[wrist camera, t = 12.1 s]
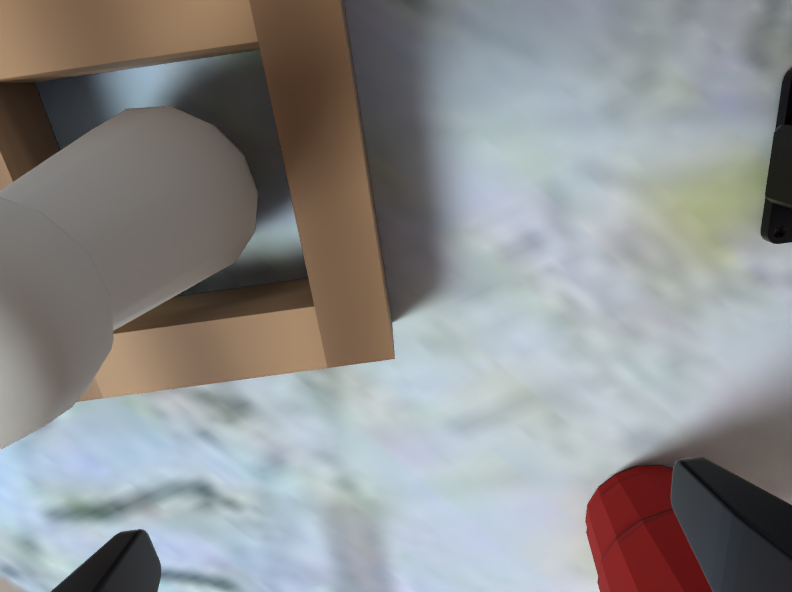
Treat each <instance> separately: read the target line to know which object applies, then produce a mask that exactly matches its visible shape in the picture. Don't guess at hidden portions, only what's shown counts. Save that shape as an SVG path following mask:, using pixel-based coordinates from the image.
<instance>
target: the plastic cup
mask: <svg viewBox="0 0 792 592" xmlns="http://www.w3.org/2000/svg"><path fill="white" fill-rule="evenodd" d="M672 475H673V469H672V468H669V467H665V466H661V465H651V466H637V467H634V468H632V469H629V470H626V471H624V472H621V473H618V474H616V475H614V476H613V477H612V478H610V479H609V480H608V481H607V482H605V483H604V484H603V485H601V486H600V487H599V488H598V489H597V490H596V492H595V494H594V495H593V497H592V498H591V500H590V501H589V503H588V505H587V513H586V525H587V532H586V533H587V536H588V540H589V544H590V547H591V551H592V555H593V559H594V562H595V566H596V570H597V573H598V585H599V589H600V592H713V591H712V589H711V587H710V585H709V583H708V581H707V579H706V577H705V575H704V572H703V570H702V568H701V566H700V564H699V562H698V560H697V558H696V556H695V554H694V552H693V550H692V548H691V546H690V544H689V542H688V539H687V537H686V535H685V533H684V531H683V529H682V527H681V525H680V523H679V521H678V519H677V517H676V515H675V513H674V510H673V507H672V504H671V485H672Z"/></svg>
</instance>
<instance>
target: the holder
mask: <svg viewBox="0 0 792 592" xmlns="http://www.w3.org/2000/svg"><path fill="white" fill-rule="evenodd" d="M254 50H260V53H261V58H262V63H263V68H264V72H265V77H266V82H267V86H268V91H269V96H270V100H271V105H272V110H273V115H274V119H275V124H276V129H277V133H278V138H279V143H280V147H281V152H282V157H283V161H284V166H285V171H286V176H287V180H288V185H289V190H290V194H291V199H292V204H293V208H294V213H295V218H296V223H297V227H298V232H299V237H300V241H301V246H302V251H303V255H304V260H305V265H306V269H307V274H308V278H307V279H300V280H292V281H285V282H278V283H271V284H263V285H256V286H249V287H242V288H234V289H227V290H220V291H213V292H205V293H198V294H191V295H184V296H177V297H172V298H171V299H169V300H167V301H165V302H164V303H162V304H160V305H158V306H157V307H155V308H153V309H151V310H149V311H148V312H146V313H144V314H142V315H141V316H139V317H137V318H135V319H134V320H132V321H130V322H128V323H126V324H125V325H123V326H121V327H119V328H118V329H116V330H114V331H113V338H114V340H113V344H112V348H111V351H110V353H109V354H108V356H107V357H106V359H105V361H104V362H103V364H102V366H101V367H100V369H99V370H98V372H97V374H96V375H95V377H94V379H93V380H92V382H91V384H90V385H89V387H88V388H87V389H86V390H85V392H84V393H83V394H82V395H81V396H80V398H79V399H78V400H77V401H76V402H79V401H86V400H94V399H101V398H109V397H116V396H123V395H131V394H138V393H146V392H153V391H160V390H168V389H175V388H183V387H190V386H197V385H205V384H212V383H220V382H227V381H234V380H242V379H249V378H257V377H264V376H271V375H279V374H286V373H293V372H301V371H308V370H316V369H323V368H330V367H338V366H345V365H353V364H360V363H367V362H375V361H382V360H390V359H395V355H394V341H393V327H392V318H391V312H390V305H389V299H388V292H387V285H386V279H385V272H384V265H383V259H382V252H381V246H380V239H379V232H378V226H377V219H376V212H375V206H374V199H373V193H372V186H371V179H370V173H369V166H368V159H367V153H366V146H365V140H364V133H363V126H362V120H361V113H360V106H359V100H358V93H357V86H356V80H355V73H354V67H353V60H352V53H351V47H350V40H349V33H348V27H347V20H346V14H345V7H344V0H0V190H2V189H3V188H5V187H6V186H8V185H9V184H11V183H12V182H14V181H15V180H17V179H18V178H20V177H21V176H23V175H24V174H26V173H27V172H29V171H30V170H32V169H33V168H35V167H36V166H38V165H39V164H41V163H42V162H44V161H45V160H47V159H48V158H50V157H51V156H53V155H54V154H56V153H57V152H59V151H60V149H59V147H58V144H57V141H56V139H55V136H54V133H53V131H52V128H51V125H50V123H49V120H48V117H47V115H46V112H45V109H44V107H43V104H42V101H41V99H40V96H39V93H38V91H37V88H36V85H35V82H42V81H49V80H56V79H62V78H69V77H76V76H83V75H90V74H97V73H104V72H110V71H117V70H124V69H131V68H138V67H145V66H152V65H158V64H165V63H172V62H179V61H186V60H193V59H200V58H206V57H213V56H220V55H227V54H234V53H241V52H248V51H254Z"/></svg>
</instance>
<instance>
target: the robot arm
mask: <svg viewBox="0 0 792 592" xmlns="http://www.w3.org/2000/svg"><path fill="white" fill-rule="evenodd" d="M765 196H766V197H765V204H764V211H763V218H762V225H761V236H762V238H763V239H765V240H766V241H769V242H771V243H774V244H781V243H788V242H792V68H791V69H790V70H789V71H788V72H787V73H786V75H785V76H784V79H783V82H782V88H781V95H780V102H779V108H778V115H777V122H776V129H775V132H774V137H773V144H772V151H771V158H770V165H769V172H768V178H767V185H766V192H765ZM778 226H780V229H779V231H778V232H777V233H776V234H774V231H775V229H776V228H777V227H778ZM671 504H672V507H673V510H674V513H675V515H676V517H677V519H678V521H679V523H680V525H681V527H682V529H683V531H684V533H685V535H686V537H687V539H688V542H689V544H690V546H691V548H692V550H693V552H694V554H695V556H696V558H697V560H698V562H699V564H700V566H701V568H702V570H703V572H704V575H705V577H706V579H707V581H708V583H709V585H710V587H711V589H712V591H713V592H792V505H791V504H789V503H787V502H785V501H783V500H781V499H779V498H778V497H776V496H774V495H772V494H770V493H768V492H767V491H765V490H763V489H761V488H759V487H757V486H755V485H754V484H752V483H750V482H748V481H746V480H744V479H743V478H741V477H739V476H737V475H735V474H733V473H731V472H730V471H728V470H726V469H724V468H722V467H720V466H719V465H717V464H715V463H713V462H711V461H709V460H707V459H705V458H703V457H690V458H682V459H678V460H676V461H675V463H674V466H673V475H672V485H671ZM160 578H161V564H160V561H159V558H158V556H157V554H156V551H155V549H154V547H153V544H152V542H151V540H150V537H149V535H148V533H147V532H146V531H145V530H141V529H138V530H131V531H123V532H120V533H118V534H116V535H115V536H114V537H113V538H112V539H110V540H109V541H108V542H107V543H106V544H105V545H104V546H102V547H101V548H100V549H99V550H98V551H97V552H96V553H94V554H93V555H92V556H91V557H90V558H89V559H88V560H86V561H85V562H84V563H83V564H82V565H81V566H79V567H78V568H77V569H76V570H75V571H74V572H73V573H71V574H70V575H69V576H68V577H67V578H66V579H65V580H63V581H62V582H61V583H60V584H59V585H58V586H57V587H55V588H54V589H53V590H52V591H51V592H157V591H158V587H159V583H160Z"/></svg>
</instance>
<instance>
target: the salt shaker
mask: <svg viewBox="0 0 792 592" xmlns="http://www.w3.org/2000/svg"><path fill="white" fill-rule="evenodd" d="M257 200H258V191H257V188H256V186H255V183H254V180H253V177H252V175H251V172H250V169H249V167H248V164H247V161H246V158H245V156H244V154H243V153H242V152H241V151H240V150H239V149H238V148H237V147H236V146H235V145H234V144H233V143H232V142H231V141H230V140H229V139H228V138H227V137H226V136H225V135H224V134H223V133H222V132H221V131H220V130H219V129H218V128H217V127H216V126H215V125H212V124H210V123H208V122H206V121H203V120H201V119H199V118H197V117H194V116H192V115H190V114H188V113H185V112H183V111H181V110H179V109H176V108H174V107H171V106H161V107H147V108H133V109H126V110H124V111H122V112H121V113H119V114H117V115H116V116H114V117H112V118H111V119H109V120H107V121H105V122H104V123H102V124H100V125H99V126H97V127H95V128H94V129H92V130H90V131H89V132H87V133H86V134H84V135H83V136H81V137H80V138H78V139H77V140H75V141H74V142H72V143H71V144H69V145H68V146H66V147H65V148H63V149H62V150H60V151H59V152H57V153H56V154H54V155H53V156H51V157H50V158H48V159H47V160H45V161H44V162H42V163H41V164H39V165H38V166H36V167H35V168H33V169H32V170H30V171H29V172H27V173H26V174H24V175H23V176H21V177H20V178H18V179H17V180H15V181H14V182H12V183H11V184H9V185H8V186H6V187H5V188H3V189H2V190H0V449H3V448H5V447H7V446H9V445H11V444H12V443H14V442H16V441H18V440H20V439H22V438H23V437H25V436H27V435H29V434H31V433H33V432H34V431H36V430H38V429H40V428H42V427H44V426H45V425H47V424H48V423H50V422H51V421H53V420H54V419H55V418H57V417H58V416H60V415H61V414H63V413H64V412H65V411H67V410H68V409H70V408H71V407H72V406H73V405H74V404H75V403H76V401H77V400H78V399H79V398H80V396H81V395H82V394H83V393H84V392H85V390H86V389H87V388H88V387H89V385H90V384H91V382H92V380H93V379H94V377H95V375H96V374H97V372H98V370H99V369H100V367H101V366H102V364H103V362H104V361H105V359H106V357H107V356H108V354H109V353H110V351H111V348H112V344H113V340H114V338H113V331H114V330H116V329H118V328H119V327H121V326H123V325H125V324H126V323H128V322H130V321H132V320H134V319H135V318H137V317H139V316H141V315H142V314H144V313H146V312H148V311H149V310H151V309H153V308H155V307H157V306H158V305H160V304H162V303H164V302H165V301H167V300H169V299H171V298H172V297H174V296H176V295H178V294H180V293H181V292H183V291H185V290H187V289H188V288H190V287H192V286H194V285H195V284H197V283H199V282H201V281H203V280H204V279H206V278H208V277H210V276H212V275H213V274H215V273H217V272H219V271H221V270H222V269H224V268H226V267H228V266H230V265H231V264H233V263H235V262H236V260H237V258H238V257H239V255H240V254H241V252H242V251H243V249H244V248H245V246H246V245H247V243H248V242H249V240H250V239H251V237H252V235H253V234H254V232H255V227H256V213H257Z"/></svg>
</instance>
